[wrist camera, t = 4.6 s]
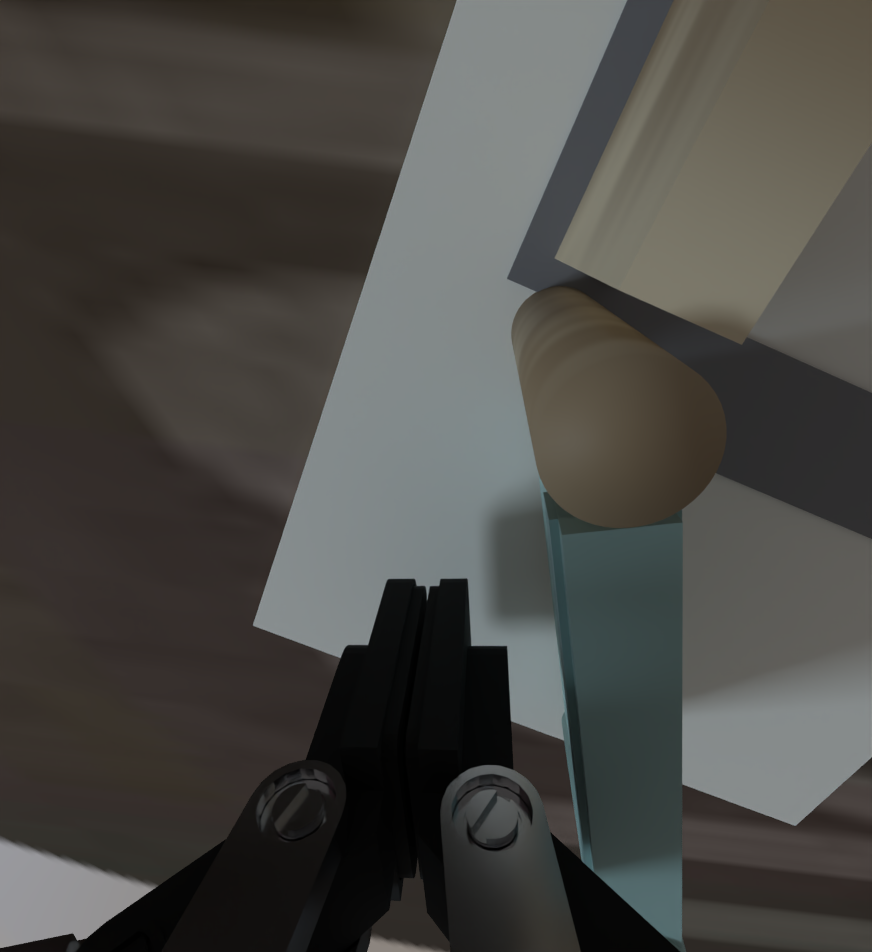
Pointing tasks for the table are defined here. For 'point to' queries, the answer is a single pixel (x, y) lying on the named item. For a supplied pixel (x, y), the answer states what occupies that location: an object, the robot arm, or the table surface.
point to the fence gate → (623, 701)
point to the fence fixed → (689, 241)
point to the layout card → (509, 442)
